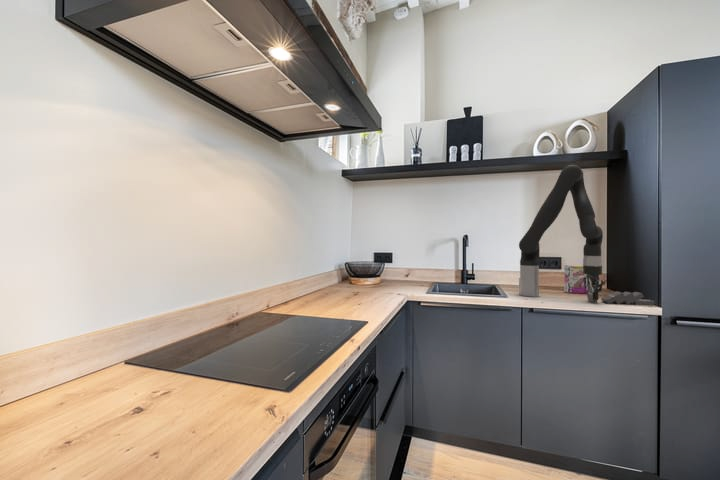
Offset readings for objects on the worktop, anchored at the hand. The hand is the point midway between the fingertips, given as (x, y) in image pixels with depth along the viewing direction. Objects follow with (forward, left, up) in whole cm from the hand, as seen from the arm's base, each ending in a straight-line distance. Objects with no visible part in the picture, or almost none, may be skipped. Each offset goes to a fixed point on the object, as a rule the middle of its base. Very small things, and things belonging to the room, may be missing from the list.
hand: (592, 298), depth 146 cm
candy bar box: (+5, +30, -2) cm, 31 cm away
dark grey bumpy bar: (+9, 0, -1) cm, 9 cm away
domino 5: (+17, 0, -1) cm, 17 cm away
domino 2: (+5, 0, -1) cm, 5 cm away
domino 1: (0, 0, -2) cm, 2 cm away
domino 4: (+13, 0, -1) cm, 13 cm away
